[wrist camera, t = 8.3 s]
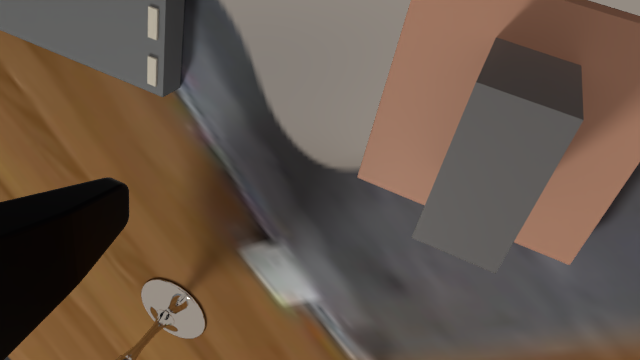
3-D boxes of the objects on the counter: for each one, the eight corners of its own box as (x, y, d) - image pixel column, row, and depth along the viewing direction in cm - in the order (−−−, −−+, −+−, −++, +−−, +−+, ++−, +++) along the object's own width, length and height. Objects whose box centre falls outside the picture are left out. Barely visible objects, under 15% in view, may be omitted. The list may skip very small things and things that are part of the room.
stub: (365, 165, 20) (315, 237, 17) (431, -48, 16) (384, -19, 12) (569, 248, 19) (568, 350, 15) (709, 37, 14) (762, 104, 10)
